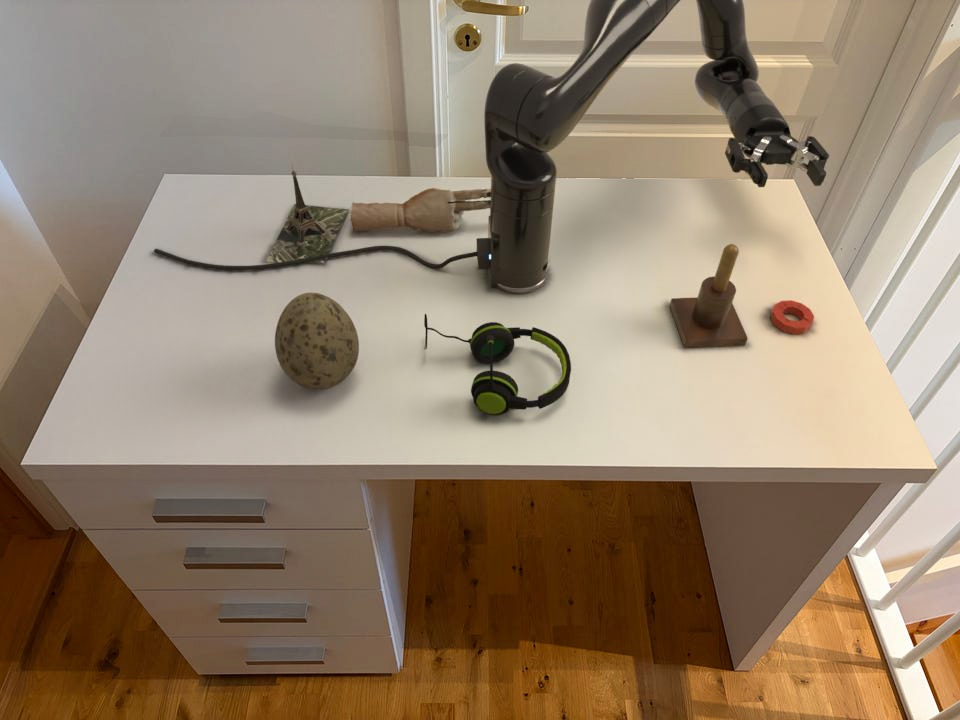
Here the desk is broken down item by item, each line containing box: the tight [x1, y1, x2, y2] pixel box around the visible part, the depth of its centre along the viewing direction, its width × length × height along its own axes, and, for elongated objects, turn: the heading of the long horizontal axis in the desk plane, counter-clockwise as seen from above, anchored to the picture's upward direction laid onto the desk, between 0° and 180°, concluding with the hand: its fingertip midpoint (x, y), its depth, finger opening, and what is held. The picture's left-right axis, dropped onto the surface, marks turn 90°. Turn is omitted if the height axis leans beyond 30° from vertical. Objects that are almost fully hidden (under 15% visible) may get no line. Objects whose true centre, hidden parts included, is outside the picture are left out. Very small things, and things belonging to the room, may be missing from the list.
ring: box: [769, 299, 815, 335], centre depth 109 cm, size 6×6×1 cm
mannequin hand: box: [349, 187, 491, 233], centre depth 121 cm, size 7×7×25 cm
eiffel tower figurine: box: [265, 165, 350, 264], centre depth 117 cm, size 15×10×13 cm
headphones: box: [423, 313, 572, 416], centre depth 98 cm, size 16×10×20 cm
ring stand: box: [669, 243, 749, 349], centre depth 103 cm, size 9×9×15 cm
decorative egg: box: [274, 292, 360, 391], centre depth 95 cm, size 11×11×15 cm
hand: (792, 181), depth 107 cm, fingers open, 8 cm apart
